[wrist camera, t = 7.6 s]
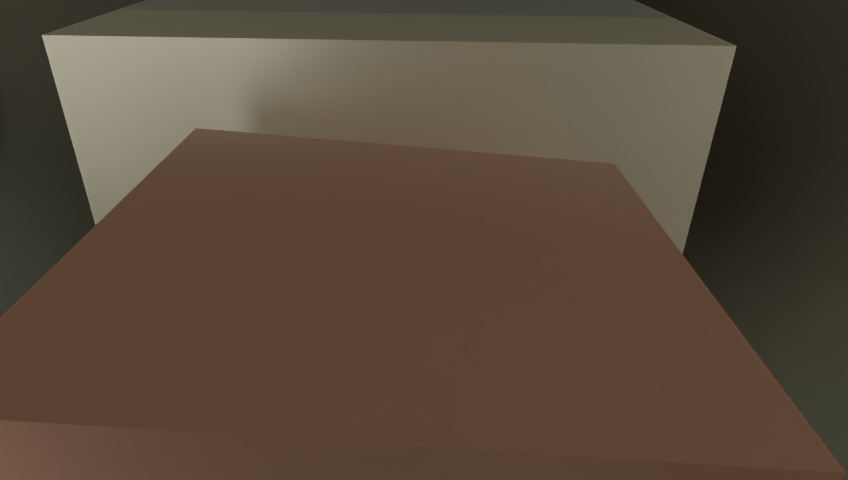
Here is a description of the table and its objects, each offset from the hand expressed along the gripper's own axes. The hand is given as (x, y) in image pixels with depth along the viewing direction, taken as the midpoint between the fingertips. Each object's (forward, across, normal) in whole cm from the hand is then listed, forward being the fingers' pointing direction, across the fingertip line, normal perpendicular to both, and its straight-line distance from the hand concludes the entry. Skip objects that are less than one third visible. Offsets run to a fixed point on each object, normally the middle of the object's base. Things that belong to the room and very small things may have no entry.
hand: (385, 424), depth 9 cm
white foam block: (+8, 0, 0) cm, 8 cm away
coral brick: (+1, 0, 0) cm, 1 cm away
